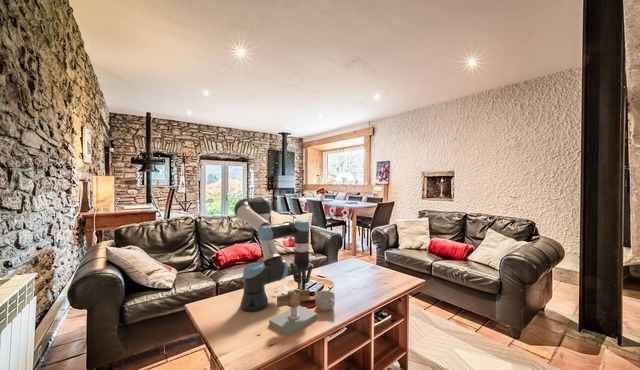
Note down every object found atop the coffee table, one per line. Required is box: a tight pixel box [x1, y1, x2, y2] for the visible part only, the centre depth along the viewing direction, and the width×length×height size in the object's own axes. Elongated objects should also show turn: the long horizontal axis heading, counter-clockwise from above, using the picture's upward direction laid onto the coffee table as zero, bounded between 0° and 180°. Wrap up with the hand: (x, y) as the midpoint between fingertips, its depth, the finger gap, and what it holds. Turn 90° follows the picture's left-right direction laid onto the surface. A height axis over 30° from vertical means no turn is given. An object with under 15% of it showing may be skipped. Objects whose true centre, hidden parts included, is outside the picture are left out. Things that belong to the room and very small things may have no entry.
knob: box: [276, 288, 311, 308], centre depth 132 cm, size 6×17×6 cm, turn 118°
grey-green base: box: [268, 304, 319, 337], centre depth 132 cm, size 14×20×8 cm
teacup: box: [314, 290, 336, 312], centre depth 144 cm, size 14×11×8 cm
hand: (301, 295), depth 136 cm, fingers closed
